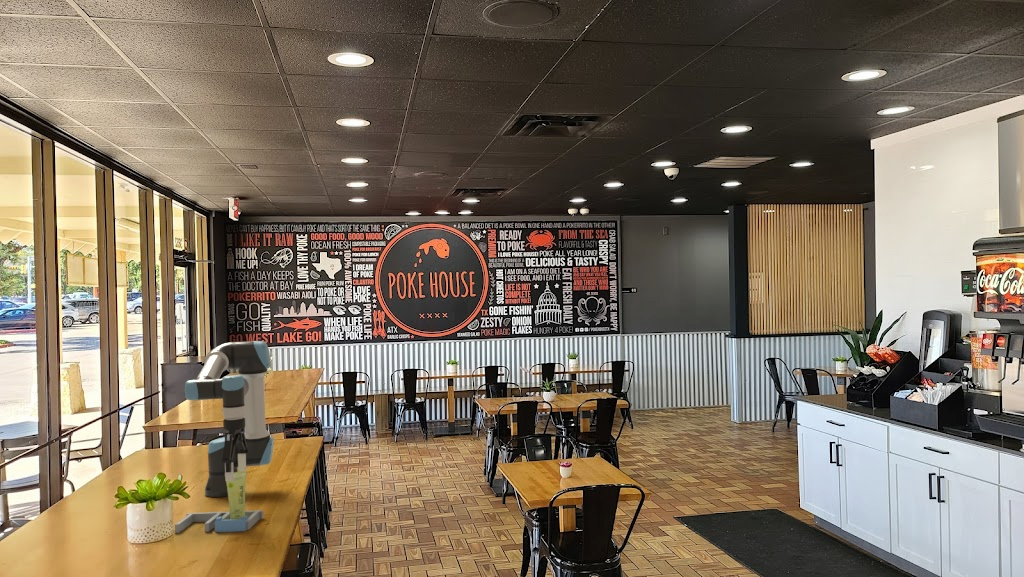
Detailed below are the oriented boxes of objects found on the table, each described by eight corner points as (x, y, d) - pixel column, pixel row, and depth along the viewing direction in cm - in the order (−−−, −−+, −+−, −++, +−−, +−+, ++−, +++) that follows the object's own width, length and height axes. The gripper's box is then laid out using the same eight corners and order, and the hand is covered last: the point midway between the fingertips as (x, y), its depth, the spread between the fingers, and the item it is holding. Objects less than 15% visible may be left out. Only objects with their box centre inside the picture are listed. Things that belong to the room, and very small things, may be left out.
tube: (235, 528, 269) (234, 474, 269) (226, 526, 271) (224, 473, 271) (248, 524, 273) (246, 470, 274) (238, 522, 276) (237, 469, 276)
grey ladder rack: (188, 521, 280) (187, 508, 280) (263, 518, 281) (262, 505, 281) (170, 533, 265) (170, 520, 265) (250, 530, 266) (250, 517, 266)
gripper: (235, 412, 285) (237, 467, 285) (211, 424, 260) (213, 485, 260) (255, 411, 285) (257, 466, 285) (232, 424, 260) (234, 484, 260)
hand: (236, 475), depth 273 cm, fingers open, 13 cm apart
